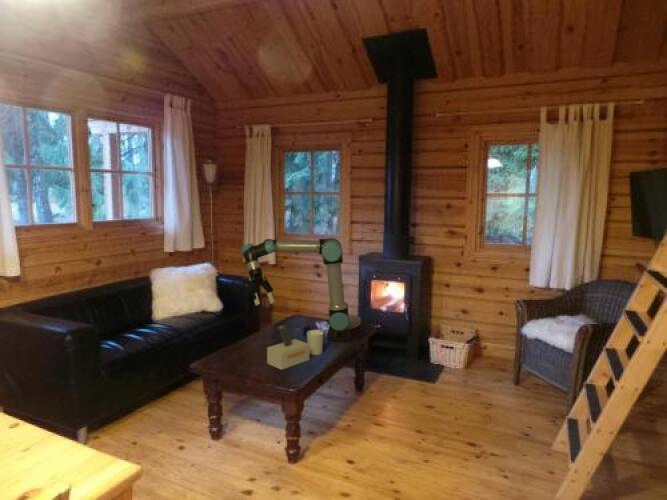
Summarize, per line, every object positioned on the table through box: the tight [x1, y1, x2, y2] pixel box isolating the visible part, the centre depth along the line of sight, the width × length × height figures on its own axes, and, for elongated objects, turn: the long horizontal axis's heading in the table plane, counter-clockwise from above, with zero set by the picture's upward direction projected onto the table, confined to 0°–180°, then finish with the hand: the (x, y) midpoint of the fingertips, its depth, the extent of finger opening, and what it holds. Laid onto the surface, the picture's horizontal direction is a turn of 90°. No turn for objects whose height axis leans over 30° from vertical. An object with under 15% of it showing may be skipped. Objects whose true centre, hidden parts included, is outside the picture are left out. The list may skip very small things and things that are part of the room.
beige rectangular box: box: [266, 338, 310, 370], centre depth 253 cm, size 20×12×9 cm, turn 135°
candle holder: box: [306, 329, 324, 356], centre depth 267 cm, size 10×10×12 cm
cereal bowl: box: [348, 314, 362, 331], centre depth 314 cm, size 17×17×7 cm
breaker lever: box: [277, 324, 292, 346], centre depth 254 cm, size 5×2×11 cm, turn 135°
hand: (265, 303), depth 265 cm, fingers open, 13 cm apart
